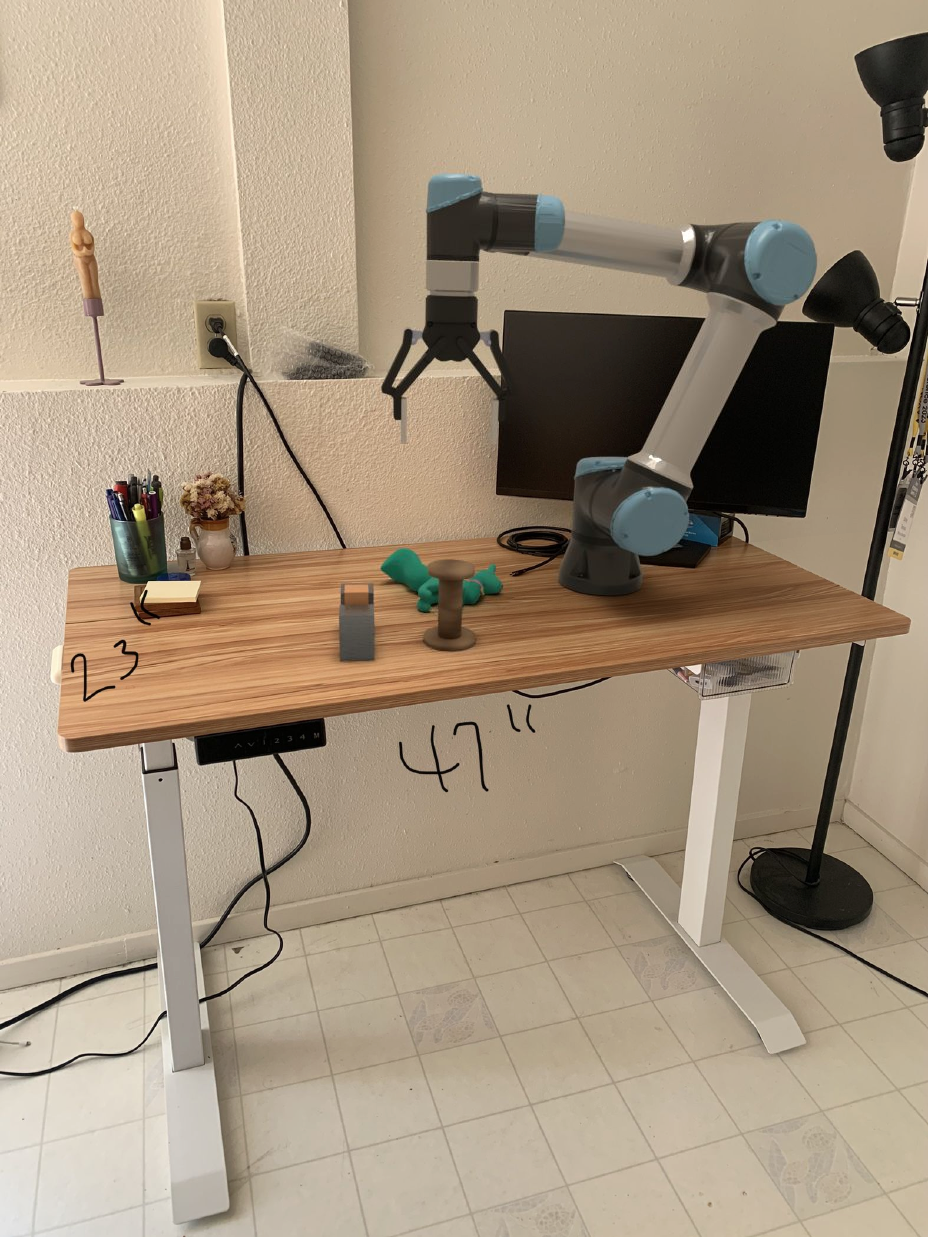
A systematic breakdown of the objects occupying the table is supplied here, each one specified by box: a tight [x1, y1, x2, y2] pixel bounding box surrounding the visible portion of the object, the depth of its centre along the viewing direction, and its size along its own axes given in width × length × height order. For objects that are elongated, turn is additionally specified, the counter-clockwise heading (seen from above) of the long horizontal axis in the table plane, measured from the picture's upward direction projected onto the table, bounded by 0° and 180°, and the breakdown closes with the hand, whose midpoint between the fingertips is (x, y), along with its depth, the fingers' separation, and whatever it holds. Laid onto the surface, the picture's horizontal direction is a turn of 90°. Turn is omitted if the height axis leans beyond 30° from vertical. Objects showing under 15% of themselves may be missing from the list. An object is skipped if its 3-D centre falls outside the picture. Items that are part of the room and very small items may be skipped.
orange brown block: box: [344, 585, 368, 605], centre depth 139 cm, size 4×4×7 cm
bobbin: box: [422, 558, 477, 652], centre depth 140 cm, size 8×8×12 cm
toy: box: [380, 547, 504, 613], centre depth 161 cm, size 7×22×20 cm
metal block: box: [338, 582, 376, 662], centre depth 139 cm, size 5×14×7 cm, turn 6°
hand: (448, 442), depth 140 cm, fingers open, 13 cm apart
